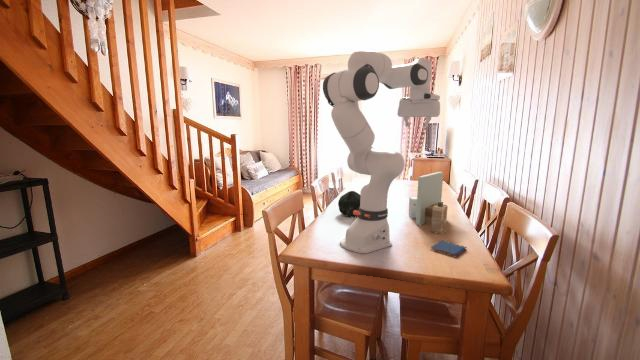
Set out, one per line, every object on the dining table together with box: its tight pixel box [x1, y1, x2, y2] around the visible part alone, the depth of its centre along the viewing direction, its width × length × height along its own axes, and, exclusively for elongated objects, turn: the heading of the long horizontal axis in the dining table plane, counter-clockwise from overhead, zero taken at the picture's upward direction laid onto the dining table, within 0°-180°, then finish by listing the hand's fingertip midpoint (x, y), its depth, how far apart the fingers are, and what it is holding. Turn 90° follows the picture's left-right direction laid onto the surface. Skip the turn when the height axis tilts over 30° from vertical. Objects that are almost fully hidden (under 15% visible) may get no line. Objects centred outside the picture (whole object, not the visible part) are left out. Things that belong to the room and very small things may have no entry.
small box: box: [408, 196, 417, 219], centre depth 156 cm, size 8×6×10 cm
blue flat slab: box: [430, 240, 468, 258], centre depth 115 cm, size 10×11×2 cm
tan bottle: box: [430, 201, 448, 235], centre depth 134 cm, size 6×4×14 cm
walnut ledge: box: [424, 203, 448, 226], centre depth 148 cm, size 12×6×8 cm, turn 133°
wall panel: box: [415, 171, 444, 226], centre depth 149 cm, size 22×2×24 cm, turn 133°
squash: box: [337, 190, 360, 218], centre depth 159 cm, size 14×15×15 cm
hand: (416, 126), depth 138 cm, fingers open, 8 cm apart
